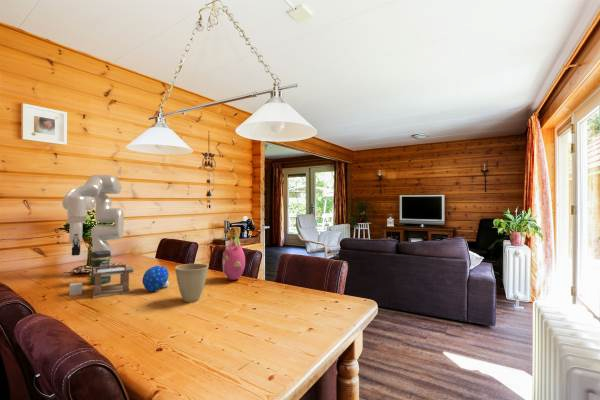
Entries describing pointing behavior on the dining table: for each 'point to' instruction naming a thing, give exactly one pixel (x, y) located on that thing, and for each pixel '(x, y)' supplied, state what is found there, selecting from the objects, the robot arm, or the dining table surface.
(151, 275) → the blue green-spotted dome
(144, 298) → the dining table surface
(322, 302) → the dining table surface
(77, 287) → the light grey cube
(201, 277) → the plant pot
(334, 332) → the dining table surface
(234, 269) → the pink dragon fruit
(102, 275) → the trapdoor
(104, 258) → the coffee jar
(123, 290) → the frame
